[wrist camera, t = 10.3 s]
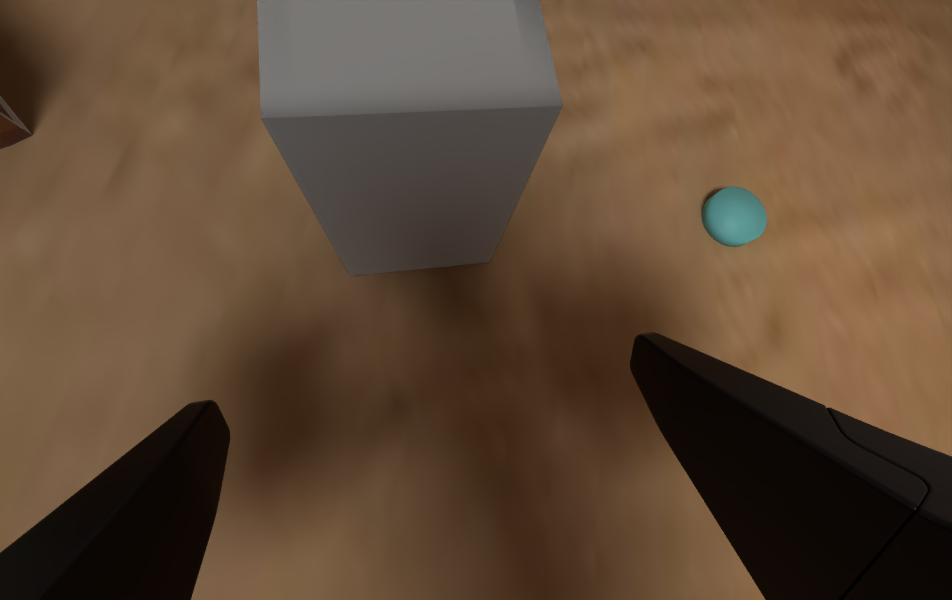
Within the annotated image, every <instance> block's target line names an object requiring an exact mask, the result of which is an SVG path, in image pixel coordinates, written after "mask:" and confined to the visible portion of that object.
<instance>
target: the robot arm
mask: <svg viewBox="0 0 952 600" xmlns="http://www.w3.org/2000/svg"><path fill="white" fill-rule="evenodd" d="M630 368H631V372H632V374H633V376H634V378H635V381H636V383H637V385H638V387H639V389H640V391H641V393H642V395H643V397H644V399H645V401H646V403H647V405H648V407H649V409H650V411H651V413H652V416H653V418H654V420H655V422H656V423H657V425H658V427H659V429H660V431H661V433H662V434H663V436H664V438H665V439H666V441H667V442H668V444H669V446H670V447H671V449H672V450H673V452H674V454H675V455H676V457H677V459H678V460H679V462H680V463H681V465H682V467H683V468H684V470H685V471H686V473H687V475H688V476H689V478H690V479H691V481H692V483H693V484H694V486H695V487H696V489H697V491H698V492H699V494H700V495H701V497H702V499H703V500H704V502H705V503H706V505H707V507H708V508H709V510H710V511H711V513H712V515H713V516H714V518H715V519H716V521H717V523H718V524H719V526H720V527H721V529H722V531H723V532H724V534H725V535H726V537H727V539H728V540H729V542H730V543H731V545H732V547H733V548H734V550H735V551H736V553H737V555H738V556H739V558H740V559H741V561H742V563H743V564H744V566H745V567H746V569H747V571H748V572H749V574H750V575H751V577H752V579H753V580H754V582H755V583H756V585H757V587H758V588H759V590H760V591H761V593H762V595H763V596H764V598H765V599H766V600H952V456H949V455H946V454H944V453H941V452H938V451H936V450H933V449H930V448H928V447H925V446H923V445H920V444H917V443H915V442H912V441H910V440H907V439H905V438H902V437H899V436H897V435H894V434H892V433H889V432H886V431H884V430H882V429H879V428H877V427H874V426H872V425H870V424H867V423H865V422H862V421H860V420H858V419H855V418H853V417H850V416H848V415H846V414H844V413H841V412H839V411H837V410H834V409H832V408H826V407H825V406H824V405H823V404H820V403H818V402H816V401H813V400H811V399H809V398H806V397H804V396H802V395H799V394H797V393H795V392H792V391H790V390H788V389H785V388H783V387H781V386H779V385H776V384H774V383H772V382H769V381H767V380H765V379H762V378H760V377H758V376H755V375H753V374H751V373H748V372H746V371H744V370H741V369H739V368H737V367H734V366H732V365H730V364H727V363H725V362H723V361H721V360H718V359H716V358H714V357H711V356H709V355H707V354H704V353H702V352H700V351H697V350H695V349H693V348H690V347H688V346H686V345H683V344H681V343H679V342H676V341H674V340H672V339H670V338H667V337H665V336H663V335H660V334H658V333H655V332H651V333H644V334H639V335H637V336H636V338H635V340H634V345H633V350H632V355H631V360H630ZM229 443H230V431H229V427H228V425H227V423H226V421H225V419H224V417H223V415H222V413H221V411H220V409H219V407H218V405H217V403H216V402H215V401H213V400H205V401H199V402H193V403H190V404H188V405H187V406H185V407H184V408H183V409H181V410H180V411H179V412H178V413H176V414H175V415H174V416H173V417H171V418H170V419H169V420H168V421H166V422H165V423H164V424H162V425H161V426H160V427H159V428H157V429H156V430H155V431H154V432H152V433H151V434H150V435H149V436H147V437H146V438H145V439H144V440H142V441H141V442H140V443H138V444H137V445H136V446H135V447H133V448H132V449H131V450H130V451H128V452H127V453H126V454H125V455H123V456H122V457H121V458H120V459H118V460H117V461H116V462H114V463H113V464H112V465H111V466H109V467H108V468H107V469H106V470H104V471H103V472H102V473H101V474H99V475H98V476H97V477H95V478H94V479H93V480H92V481H90V482H89V483H88V484H87V485H85V486H84V487H83V488H82V489H80V490H79V491H78V492H77V493H75V494H74V495H73V496H71V497H70V498H69V499H68V500H66V501H65V502H64V503H63V504H61V505H60V506H59V507H58V508H56V509H55V510H54V511H52V512H51V513H50V514H49V515H47V516H46V517H45V518H44V519H42V520H41V521H40V522H39V523H37V524H36V525H35V526H34V527H32V528H31V529H30V530H28V531H27V532H26V533H25V534H23V535H22V536H21V537H20V538H18V539H17V540H16V541H15V542H13V543H12V544H11V545H10V546H8V547H7V548H6V549H4V550H3V551H2V552H1V553H0V600H191V597H192V594H193V590H194V587H195V584H196V580H197V577H198V574H199V570H200V567H201V564H202V561H203V557H204V554H205V551H206V547H207V544H208V541H209V537H210V534H211V531H212V527H213V524H214V520H215V516H216V513H217V508H218V503H219V498H220V493H221V487H222V481H223V476H224V470H225V465H226V459H227V454H228V448H229Z"/></svg>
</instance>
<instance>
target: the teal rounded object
mask: <svg viewBox="0 0 952 600" xmlns="http://www.w3.org/2000/svg"><path fill="white" fill-rule="evenodd" d="M702 222H703V225H704V227H705V229H706V231H707V232H708V233H709V235H710V236H711V237H712V238H713V239H714V240H716V241H717V242H719V243H721V244H723V245H726V246H730V247H737V246H741V245H744V244H746V243H748V242H750V241H752V240H754V239H756V238H758V237H759V236H760V235H761V234H762V233H763V231H764V230H765V227H766V223H767V217H766V212H765V209H764V207H763V205H762V203H761V202H760V200H759V199H758V198H757V197H756V196H755V195H754V194H752V193H751V192H750V191H748V190H746V189H743V188H740V187H727V188H724V189H722V190H720V191H719V192H718V193H716V194H715V195H713V196H712V197H711V198H709V199H708V200H707V201H706V202H705V204H704V206H703V209H702Z"/></svg>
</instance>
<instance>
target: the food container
mask: <svg viewBox="0 0 952 600" xmlns="http://www.w3.org/2000/svg"><path fill="white" fill-rule="evenodd" d="M30 136H32V134H31V133H30V131H29V130H28V129H27V128H26V127H25V125H24V124H23V123H22V122H21V120H20V119H19V118H18V117H17V116H16V114H15V113H14V112H13V111H12V109H11V108H10V107H9V106H8V105H7V103H6V102H5V101H4V100H3V98H2V97H1V96H0V149H1V148H4V147H7V146H10V145H13V144H15V143H17V142H19V141H21V140H23V139H26V138H28V137H30Z"/></svg>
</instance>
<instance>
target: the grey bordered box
mask: <svg viewBox="0 0 952 600" xmlns="http://www.w3.org/2000/svg"><path fill="white" fill-rule="evenodd" d="M257 11H258V41H259V71H260V101H261V119H262V121H263V123H264V125H265V127H266V128H267V130H268V132H269V134H270V135H271V137H272V139H273V141H274V142H275V144H276V146H277V148H278V150H279V151H280V153H281V155H282V157H283V158H284V160H285V162H286V164H287V165H288V167H289V169H290V171H291V173H292V174H293V176H294V178H295V180H296V181H297V183H298V185H299V187H300V189H301V190H302V192H303V194H304V196H305V197H306V199H307V201H308V203H309V204H310V206H311V208H312V210H313V212H314V213H315V215H316V217H317V219H318V220H319V222H320V224H321V226H322V228H323V229H324V231H325V233H326V235H327V236H328V238H329V240H330V242H331V243H332V245H333V247H334V249H335V251H336V252H337V254H338V256H339V258H340V259H341V261H342V263H343V265H344V267H345V268H346V270H347V272H348V274H349V275H350V276H357V275H367V274H377V273H387V272H397V271H407V270H417V269H427V268H437V267H447V266H457V265H467V264H477V263H487V262H490V260H491V258H492V256H493V254H494V252H495V250H496V248H497V245H498V243H499V241H500V239H501V237H502V235H503V233H504V230H505V228H506V226H507V224H508V222H509V220H510V218H511V215H512V213H513V211H514V209H515V207H516V205H517V203H518V201H519V198H520V196H521V194H522V192H523V190H524V188H525V186H526V183H527V181H528V179H529V177H530V175H531V173H532V171H533V168H534V166H535V164H536V162H537V160H538V158H539V156H540V153H541V151H542V149H543V147H544V145H545V143H546V141H547V138H548V136H549V134H550V132H551V130H552V128H553V126H554V123H555V121H556V119H557V117H558V115H559V113H560V111H561V109H562V106H563V105H562V101H561V96H560V92H559V87H558V83H557V78H556V74H555V69H554V65H553V60H552V56H551V51H550V47H549V42H548V38H547V33H546V29H545V24H544V20H543V15H542V11H541V6H540V2H539V0H257Z"/></svg>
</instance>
